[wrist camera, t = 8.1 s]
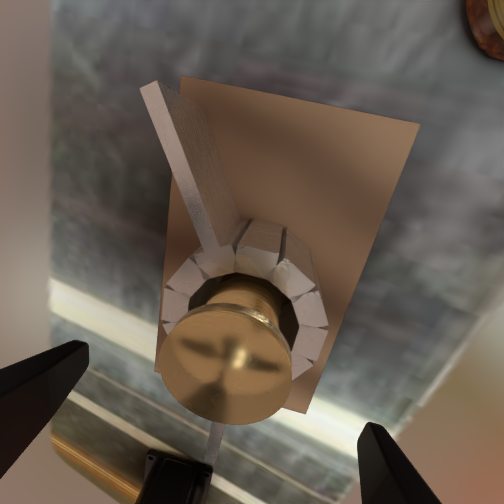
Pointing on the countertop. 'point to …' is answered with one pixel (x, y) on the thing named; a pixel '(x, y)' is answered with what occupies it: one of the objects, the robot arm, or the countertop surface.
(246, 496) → the countertop surface
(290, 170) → the walnut board
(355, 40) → the countertop surface
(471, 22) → the sauce bottle
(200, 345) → the hinge pin
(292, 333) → the hinge
